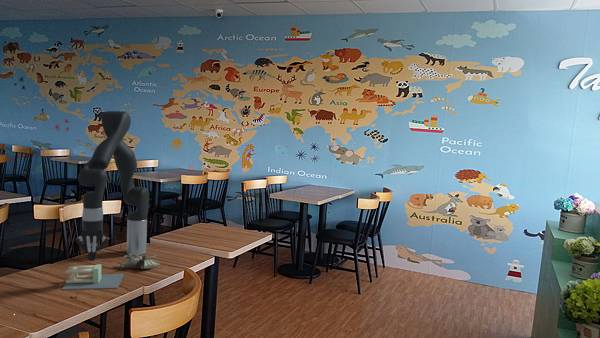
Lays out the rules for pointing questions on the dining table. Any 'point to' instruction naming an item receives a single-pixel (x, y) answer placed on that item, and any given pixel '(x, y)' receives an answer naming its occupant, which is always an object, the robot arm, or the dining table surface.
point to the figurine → (139, 262)
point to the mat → (105, 283)
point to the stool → (84, 269)
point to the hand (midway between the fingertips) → (92, 260)
